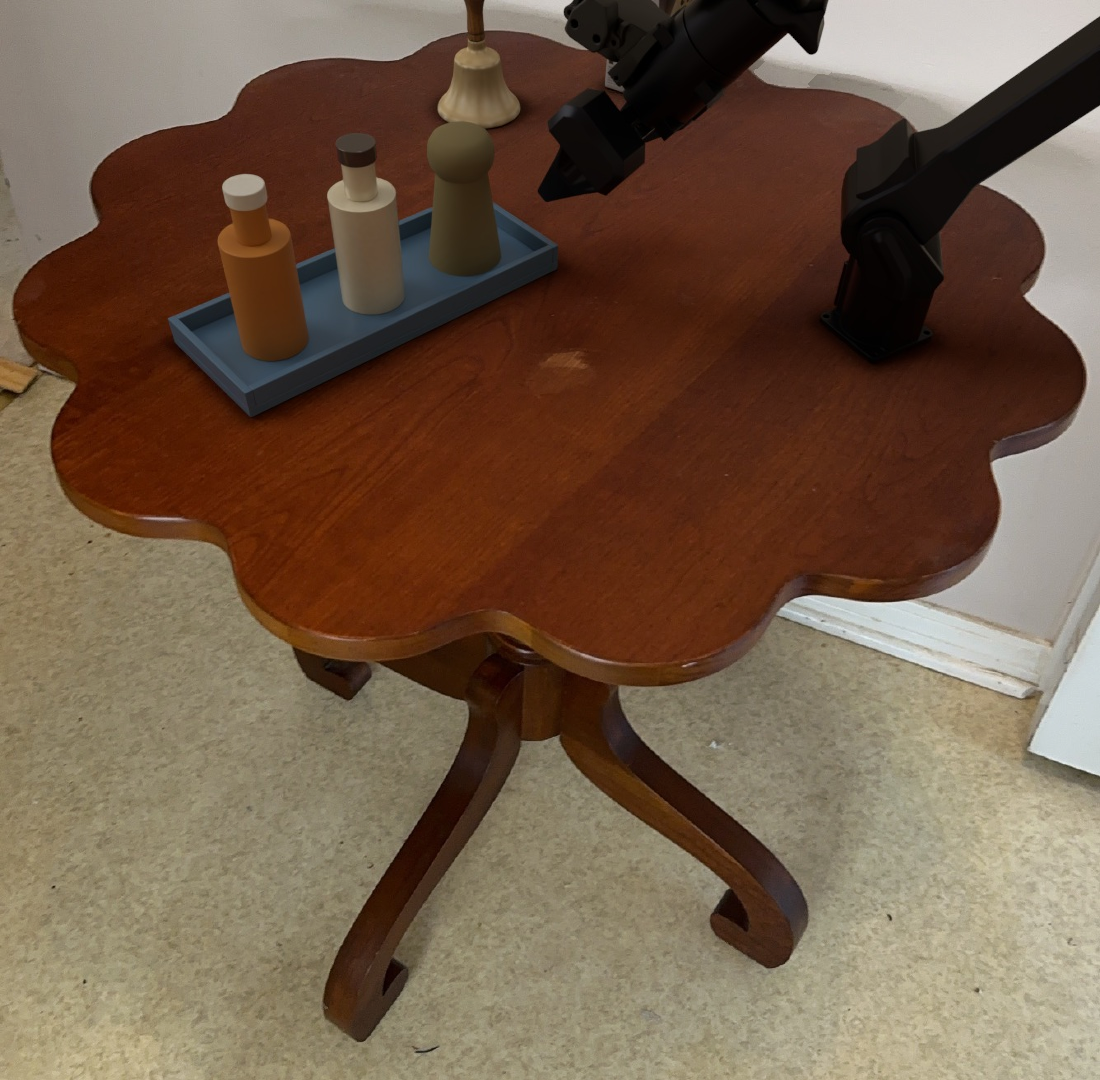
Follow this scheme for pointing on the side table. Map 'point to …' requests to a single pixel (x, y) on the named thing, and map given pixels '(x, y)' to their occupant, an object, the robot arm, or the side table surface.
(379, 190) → the cream bottle
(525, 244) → the tray
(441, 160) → the olive pawn piece
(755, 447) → the side table surface
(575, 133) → the robot arm
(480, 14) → the hand bell
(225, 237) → the amber bottle
